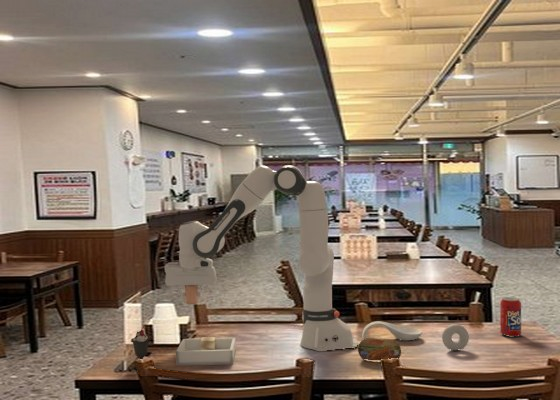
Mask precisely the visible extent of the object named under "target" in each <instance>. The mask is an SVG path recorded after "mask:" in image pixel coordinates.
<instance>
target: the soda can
mask: <svg viewBox="0 0 560 400" xmlns="http://www.w3.org/2000/svg"><path fill="white" fill-rule="evenodd" d="M499 306H500V307H499V310H500V311H499V314H500V319H499V321H500V323H499V324H500V325H499V328H500V334H501V333H502V334H501V335H503V334H505V335H509V336H518V335H520V336H521V335H522V302H521V301H520V298H519V297H514V296H503V297H502V298H501V301H500V302H499ZM518 337H519V336H518Z"/></svg>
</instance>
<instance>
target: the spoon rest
mask: <svg viewBox="0 0 560 400" xmlns="http://www.w3.org/2000/svg"><path fill="white" fill-rule="evenodd" d="M376 326H378V327H379V326H380V327H384V328H385V329H386V330H387V331H389V332H390V333H391V334H392V335H393V336H394V338H396V339H397V338H398V339H401V340H413V341H416V340H417V339H419V338H420V337H421V336H422V334H423V332H422V330H421V329H419V328H415V327H412V326H411V327H410V326H403V325H397V324H393V323H389V322H385V321H381V320H379V321H378V320H377V321H372V322H370V323H368V324H366V325H365V326H364V328H363V330H362V332H361V333H362V334H361V338H363V339H366V338H367V333H368V331H369V330H370V329H371V328H373V327H376ZM363 339H362V340H363ZM415 339H416V340H415ZM401 340H400V341H401Z"/></svg>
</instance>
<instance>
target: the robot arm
mask: <svg viewBox="0 0 560 400" xmlns="http://www.w3.org/2000/svg"><path fill="white" fill-rule="evenodd" d="M276 190H278V191H279V192H281V193H283V194H284V195H285V194H286V195H291V196H295V197H296V199H297V202H298V203H297V205H298V206H297V207H298V216H299V217H298V218H299V229H300V230H299V231H300V233H299V234H300V236H299V249H298V250H299V251H298V252H299V255H298V268H299V270H300V271H301V273H303V274H304V275H305V276H304V285H303V291H302V292H303V295H302V297H303V308H302V312H301V313H302V316H301V318H302V323H303V327H302V334H301V340H300V342H299V345H300V346H301V347H303V348H305V349H309V350H314V351H316V352H328V351H327V350H332V351H336V350H335V349H343V348H352V347H356V346H357V345H358V346H359V340H358V339H357V338H355V337H354V336H353V334H352V333H353V332H352V329H351V327H350V326H349V325H348V324H347V323H345V322H344V321H343V320H341V319H340V318H339V317H340V311H338V310H337V309H336V308H334V307H333V289H332V287H333V278H334V277H333V275H334V264H335V263H334V261H335V255H334V250H333V249H332V248H331V247H330V246H329V243H328V241H329V230H330V229H329V215H328V214H329V213H328V205H327V204H328V203H327V197H326V193H325V189H324V186H323V184H321V183H320V182H319V181H315V180H306V179H305V177H304V174H303V172H302V171H301V170H300V168H298V167H296V166H294V165H289V164H287V165H283V166H280V167H279V168H278V169H277V170H273V169H272V168H270V167H269V166H266V165H259V166H257V167H256V168H254V169H253V170H252V171H251V172H250V173H249V174H248V175H246V177H245V178H244V179H243V180H242V181H241V183H240V184H239V185H238V186H237V188H236V190H235V191H234V193H233V195H232V196H231V198H230V200H229V202H228V204H227V205H226V206H225V208H224V210H223V211H222V212H221V213H220V214H219V215H218V217H217V218H216V219H215V220H214V222H213V223H212V224H211V225H210V226H206V225H204V224H202V223H201V222H199V221H198V220H191V221H186V222H183V223H182V224H181V225H180V226H179V229H178V246H179V253H178V258H179V259H178V261H175V262H174V261H173V262H171V261H170V262H168V263H166V264H165V265H164V273H165V279H164V281H165V283H164V284H165V285H166V286H167V287H175V286H177V287H178V288H177V289H178V290H179V291H180V294H181V295H180V296H181V298H185V290H183V287H185V285H198V286H199V288H200V290H198V292H197V294H198V295H197V296H198V297H202V292H203V290H204V288H205V286H214V285H216V284H217V281H218V279H217V271H216V268H215V266H213V265H214V261H213V259H211V258H212V257H214V256H215V255H216V254H217V253H218V252H219V251H221V250H222V249H223V247H224V246H225V244H226V239H225V235H226V234H227V233H228V232H229V230H231V228H232V227H234V224H236V223H237V222H238V221H239V220H240V219H242V218H243V217H244V216H247V215H249V214H250V213H252V212H253V211H254V210H256V209H257V208H258V207H259V206H260V205H261V204H262V203H263V201H265V199H266V198H267V197H268V195H269V194H270V193H272V192H273V191H276ZM343 350H344V349H343Z"/></svg>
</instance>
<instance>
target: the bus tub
mask: <svg viewBox="0 0 560 400" xmlns="http://www.w3.org/2000/svg"><path fill="white" fill-rule="evenodd" d="M215 338H216V350H201V339H202V337H201V338H182V340H181V342H180V344H179V346H178V347H177V349H176V350H175V361H176V362H175V363H176V365H175V366H176V367H177V366H179V367H181V366H211V365H212V366H215V365H217V366H219V365H222V366H223V365H234V360H235V356H236V353H237V352H236V351H237V345H236V343H237V340H236V337H215Z"/></svg>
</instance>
